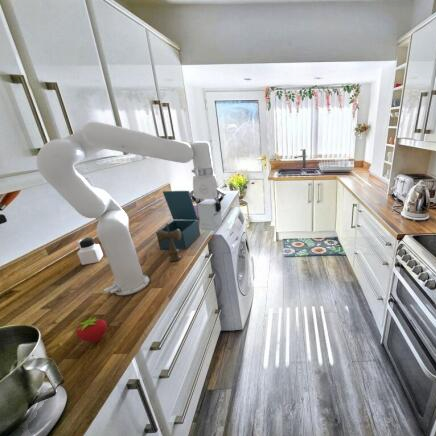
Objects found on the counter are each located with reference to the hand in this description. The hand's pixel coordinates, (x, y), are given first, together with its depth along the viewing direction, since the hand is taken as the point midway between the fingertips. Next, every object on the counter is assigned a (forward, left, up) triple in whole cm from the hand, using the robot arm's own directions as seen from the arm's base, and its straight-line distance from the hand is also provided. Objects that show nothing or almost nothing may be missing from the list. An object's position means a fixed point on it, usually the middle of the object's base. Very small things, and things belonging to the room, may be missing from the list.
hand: (209, 210), depth 108 cm
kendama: (-9, +20, -27) cm, 35 cm away
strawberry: (-53, -3, -27) cm, 59 cm away
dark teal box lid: (+11, +38, -7) cm, 41 cm away
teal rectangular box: (+5, +35, -26) cm, 45 cm away
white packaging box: (0, 0, -9) cm, 9 cm away
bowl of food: (+36, +61, -26) cm, 76 cm away
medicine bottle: (-30, +58, -26) cm, 71 cm away
